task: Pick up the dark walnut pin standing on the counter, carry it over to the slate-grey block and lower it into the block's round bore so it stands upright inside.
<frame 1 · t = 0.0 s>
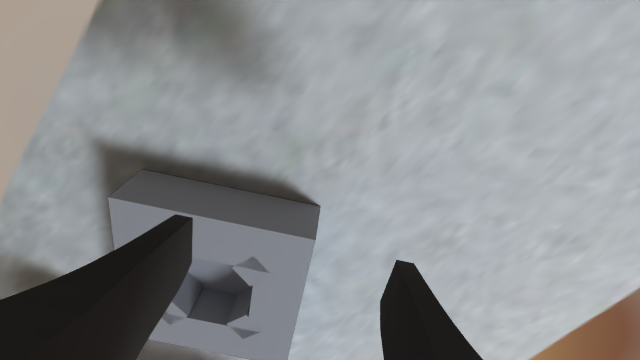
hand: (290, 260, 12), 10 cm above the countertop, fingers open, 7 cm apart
bore block: (226, 256, 26), on the countertop
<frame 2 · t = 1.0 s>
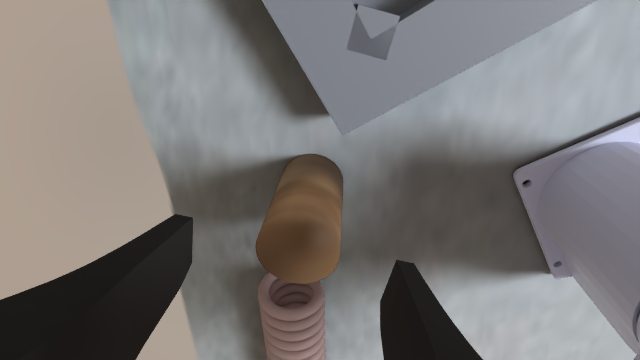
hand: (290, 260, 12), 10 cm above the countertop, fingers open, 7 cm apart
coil: (301, 337, 30), on the countertop
walnut pin: (312, 182, 22), on the countertop
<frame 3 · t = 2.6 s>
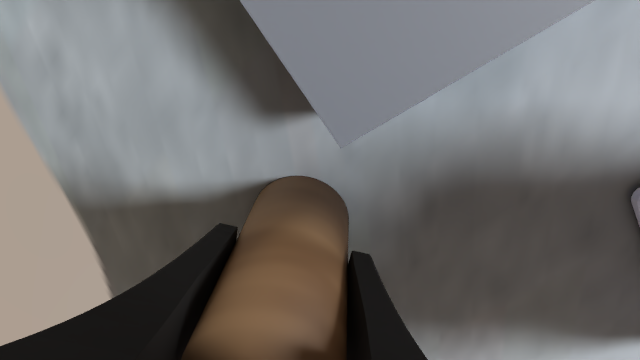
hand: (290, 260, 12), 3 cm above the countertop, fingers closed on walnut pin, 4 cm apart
walnut pin: (300, 218, 14), on the countertop, touching gripper
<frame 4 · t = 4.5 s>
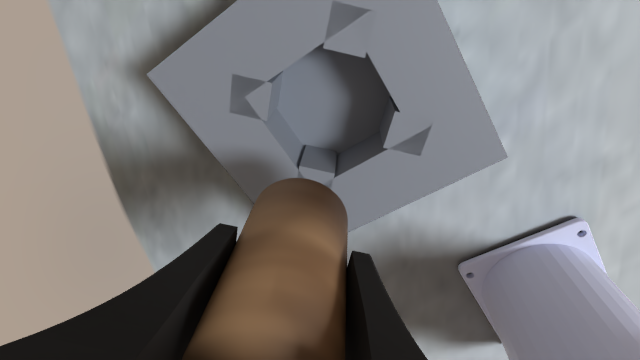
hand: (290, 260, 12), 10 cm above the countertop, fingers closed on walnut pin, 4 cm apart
bore block: (333, 96, 19), on the countertop
walnut pin: (300, 219, 14), point 7 cm above the countertop, touching gripper
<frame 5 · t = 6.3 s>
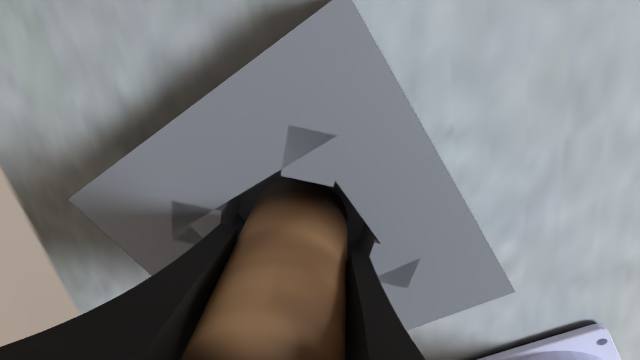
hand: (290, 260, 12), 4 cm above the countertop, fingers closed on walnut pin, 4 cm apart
bore block: (305, 196, 16), on the countertop
walnut pin: (299, 219, 14), point 2 cm above the countertop, touching gripper
when the fingers open (4 cm above the countertop, at t = 6.4 s): walnut pin stays where it is, resting on bore block.
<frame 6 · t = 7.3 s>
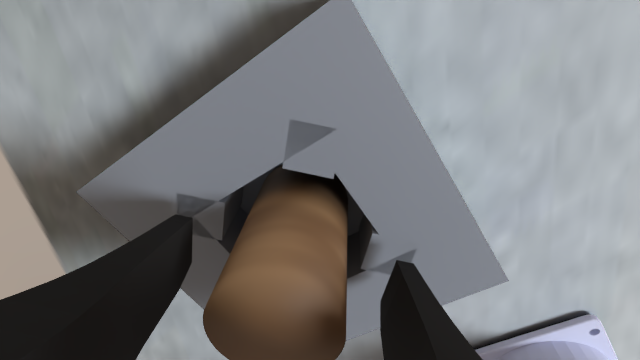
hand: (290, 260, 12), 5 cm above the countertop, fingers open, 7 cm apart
bore block: (305, 190, 16), on the countertop
walnut pin: (303, 200, 16), point 1 cm above the countertop, touching bore block
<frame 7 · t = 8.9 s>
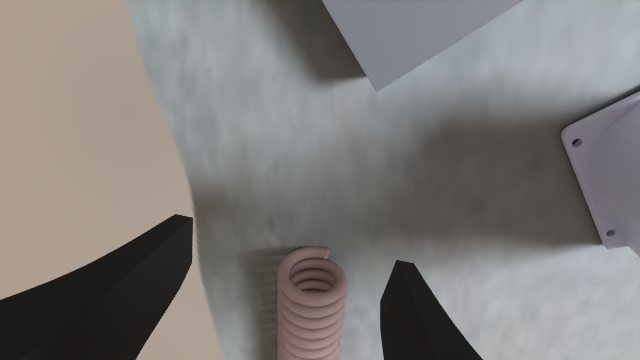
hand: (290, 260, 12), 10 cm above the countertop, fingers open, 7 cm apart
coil: (311, 327, 29), on the countertop
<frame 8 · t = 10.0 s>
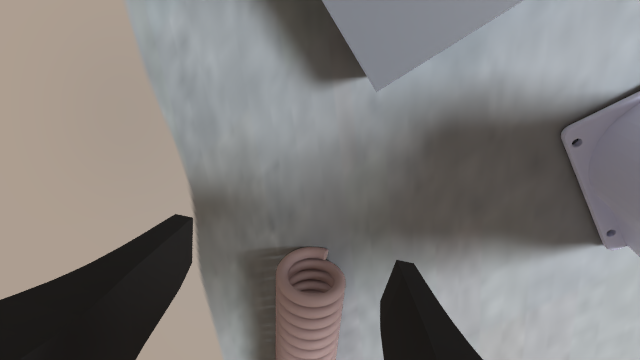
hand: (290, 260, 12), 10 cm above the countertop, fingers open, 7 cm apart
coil: (309, 327, 29), on the countertop
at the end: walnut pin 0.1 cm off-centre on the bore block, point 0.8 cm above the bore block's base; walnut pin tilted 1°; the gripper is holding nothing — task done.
